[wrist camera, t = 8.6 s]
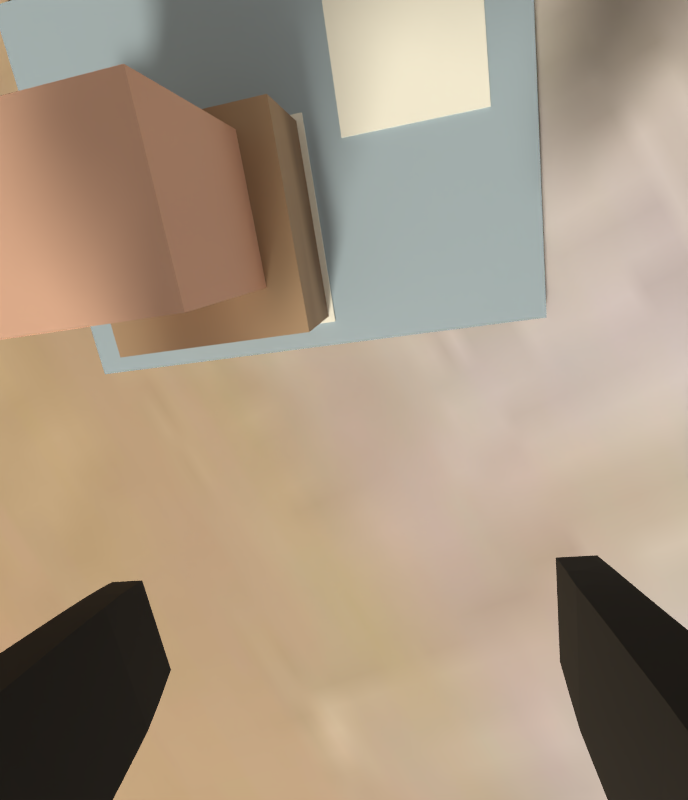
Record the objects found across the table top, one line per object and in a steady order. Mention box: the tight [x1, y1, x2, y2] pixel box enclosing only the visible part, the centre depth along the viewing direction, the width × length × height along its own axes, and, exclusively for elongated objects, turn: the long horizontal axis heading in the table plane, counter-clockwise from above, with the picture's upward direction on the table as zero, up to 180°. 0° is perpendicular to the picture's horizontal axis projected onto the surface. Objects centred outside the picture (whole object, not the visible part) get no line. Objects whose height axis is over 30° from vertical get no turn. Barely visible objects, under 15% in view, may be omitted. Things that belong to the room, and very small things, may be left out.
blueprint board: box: [0, 0, 546, 374], centre depth 16 cm, size 16×12×1 cm
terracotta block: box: [0, 64, 267, 340], centre depth 11 cm, size 4×4×5 cm
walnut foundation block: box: [111, 94, 329, 358], centre depth 15 cm, size 6×6×3 cm
